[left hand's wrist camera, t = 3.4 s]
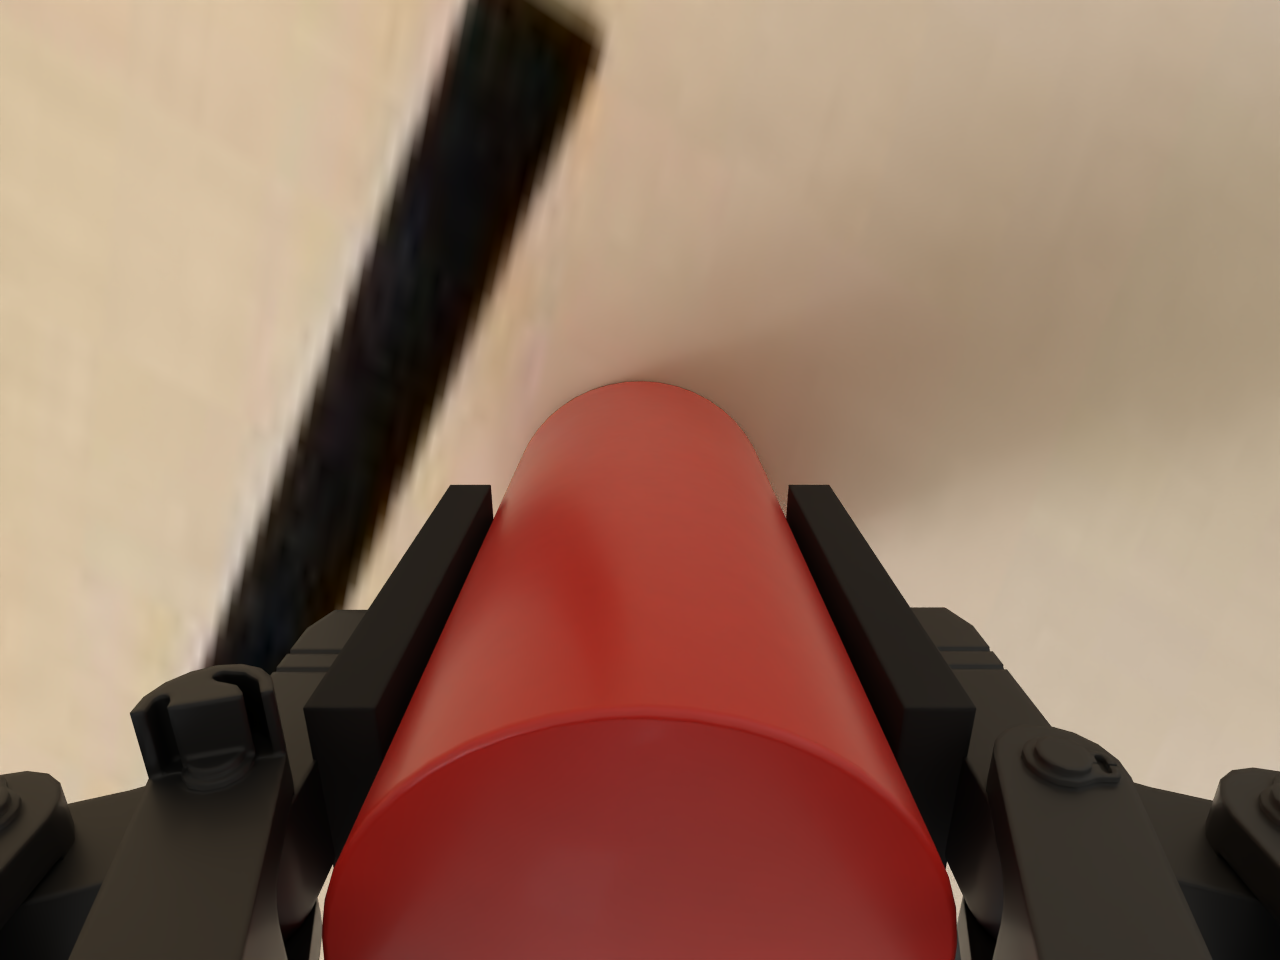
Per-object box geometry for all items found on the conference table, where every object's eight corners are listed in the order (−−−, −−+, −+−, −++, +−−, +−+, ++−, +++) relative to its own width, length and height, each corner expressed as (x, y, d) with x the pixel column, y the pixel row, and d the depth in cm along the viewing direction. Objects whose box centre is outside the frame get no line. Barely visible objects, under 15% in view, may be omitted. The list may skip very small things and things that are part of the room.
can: (757, 365, 16) (975, 675, 5) (771, 600, 17) (951, 1147, 7) (493, 395, 16) (234, 746, 6) (536, 623, 18) (399, 1185, 8)
